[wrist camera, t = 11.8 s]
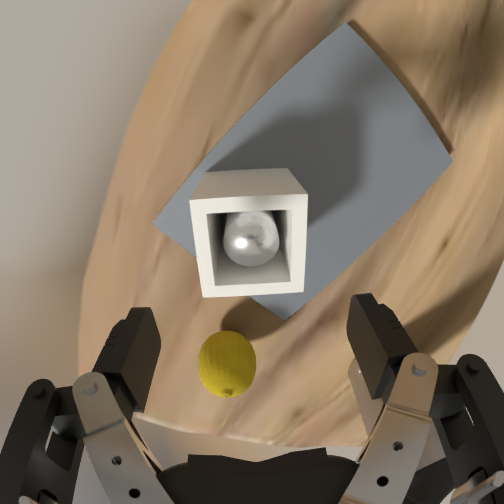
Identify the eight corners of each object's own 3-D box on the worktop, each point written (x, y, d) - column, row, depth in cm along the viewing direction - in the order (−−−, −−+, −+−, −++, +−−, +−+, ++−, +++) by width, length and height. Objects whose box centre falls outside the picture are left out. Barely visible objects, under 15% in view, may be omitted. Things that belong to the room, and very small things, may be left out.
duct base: (443, 158, 22) (452, 161, 20) (282, 311, 29) (284, 321, 27) (339, 26, 17) (345, 22, 15) (156, 217, 24) (151, 223, 22)
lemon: (192, 338, 30) (183, 398, 23) (219, 306, 28) (214, 368, 21) (235, 358, 32) (235, 417, 24) (265, 329, 30) (271, 391, 23)
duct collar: (287, 168, 21) (307, 194, 14) (287, 241, 23) (303, 292, 17) (205, 172, 21) (189, 200, 14) (212, 245, 23) (203, 297, 17)
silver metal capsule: (278, 207, 22) (290, 240, 17) (250, 235, 23) (253, 275, 18) (247, 179, 21) (249, 204, 16) (219, 210, 22) (211, 244, 17)
